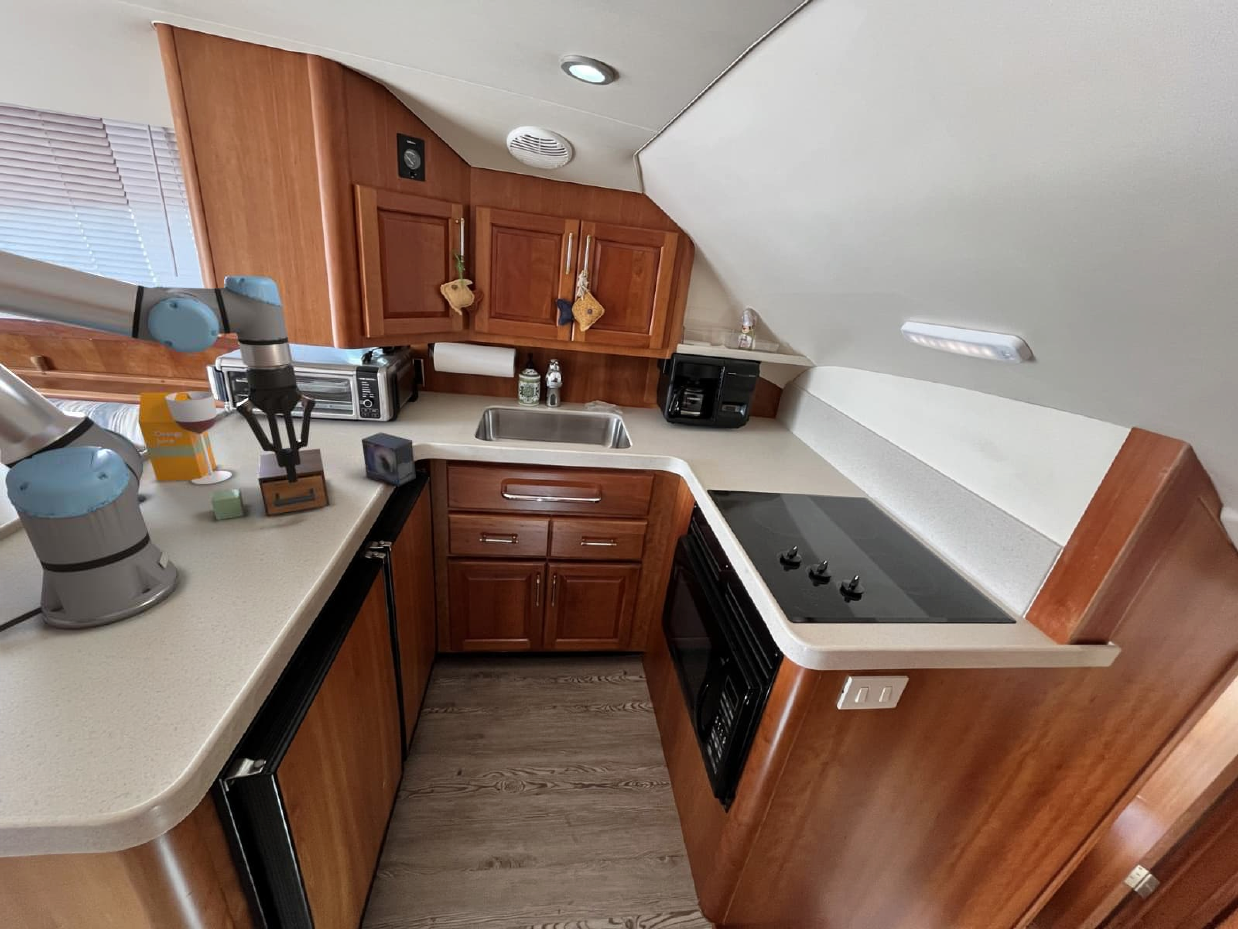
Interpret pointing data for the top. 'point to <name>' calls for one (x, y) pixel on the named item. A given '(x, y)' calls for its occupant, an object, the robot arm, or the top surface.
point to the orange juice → (171, 441)
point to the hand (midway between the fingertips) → (293, 479)
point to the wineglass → (197, 424)
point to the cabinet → (308, 466)
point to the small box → (389, 458)
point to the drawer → (294, 494)
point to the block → (228, 504)
